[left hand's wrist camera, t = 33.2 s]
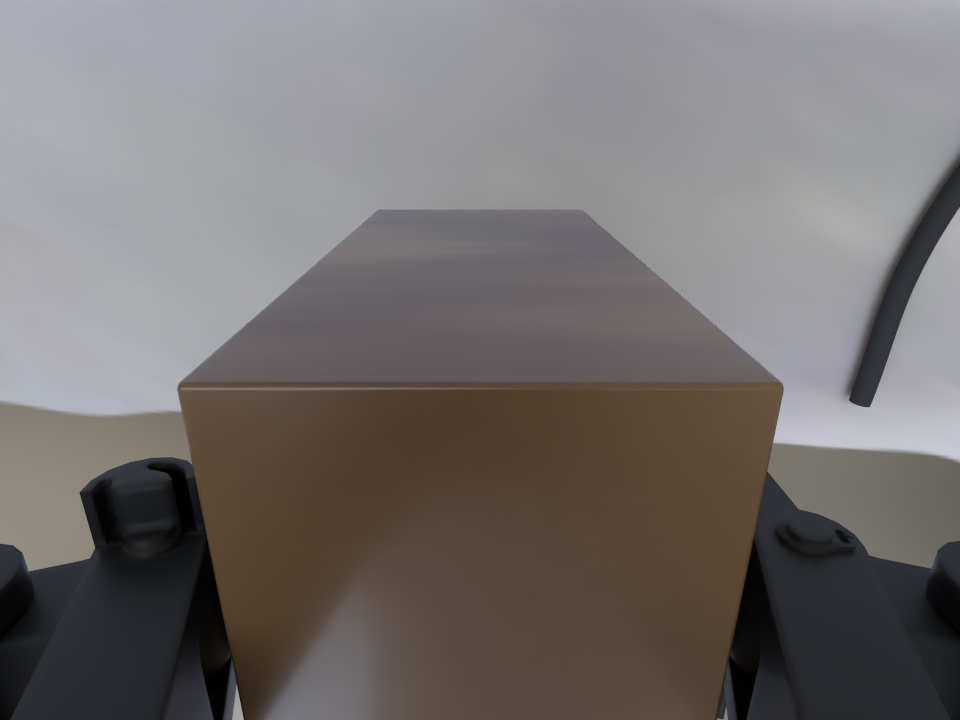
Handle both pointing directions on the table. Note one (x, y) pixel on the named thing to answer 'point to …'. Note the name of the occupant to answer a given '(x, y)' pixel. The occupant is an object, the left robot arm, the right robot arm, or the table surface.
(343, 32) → the table surface
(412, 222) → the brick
